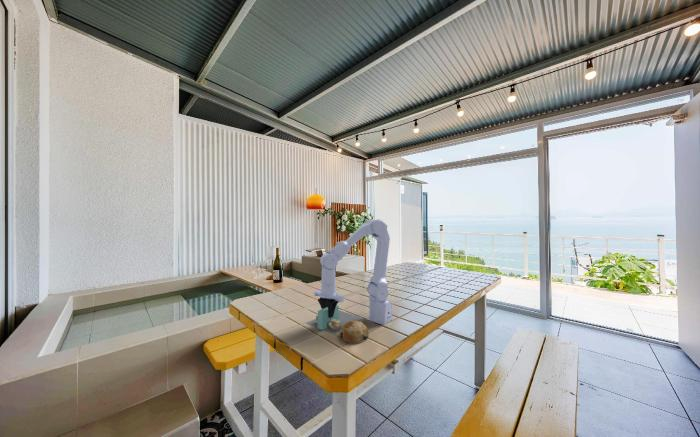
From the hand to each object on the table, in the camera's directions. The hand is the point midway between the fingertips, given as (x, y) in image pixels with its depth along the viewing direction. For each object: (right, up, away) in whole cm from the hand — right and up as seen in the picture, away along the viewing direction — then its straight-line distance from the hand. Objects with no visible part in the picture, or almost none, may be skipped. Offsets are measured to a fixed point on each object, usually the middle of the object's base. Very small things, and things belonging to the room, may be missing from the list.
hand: (328, 316), depth 100 cm
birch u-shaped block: (0, -4, 0) cm, 4 cm away
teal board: (0, -4, 0) cm, 4 cm away
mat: (+3, -4, +5) cm, 7 cm away
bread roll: (+10, -5, -10) cm, 15 cm away
